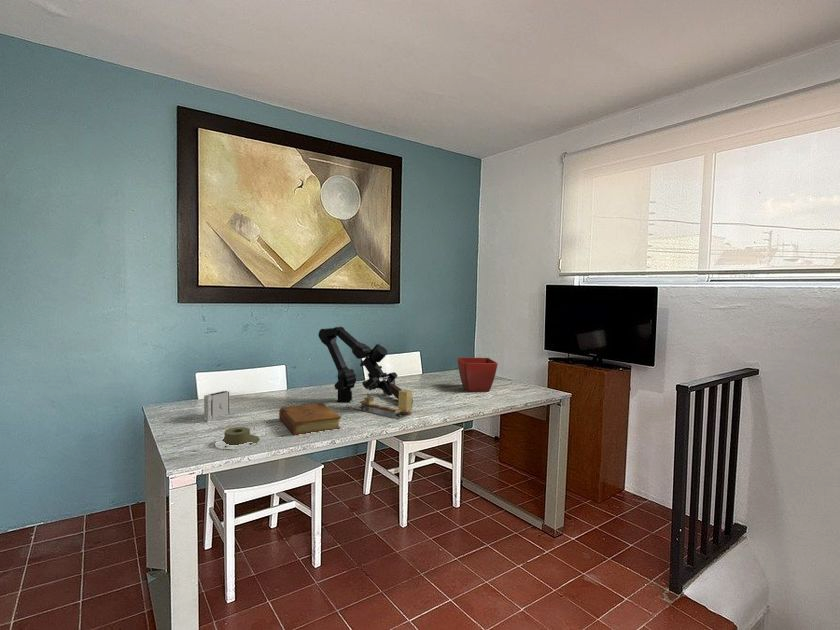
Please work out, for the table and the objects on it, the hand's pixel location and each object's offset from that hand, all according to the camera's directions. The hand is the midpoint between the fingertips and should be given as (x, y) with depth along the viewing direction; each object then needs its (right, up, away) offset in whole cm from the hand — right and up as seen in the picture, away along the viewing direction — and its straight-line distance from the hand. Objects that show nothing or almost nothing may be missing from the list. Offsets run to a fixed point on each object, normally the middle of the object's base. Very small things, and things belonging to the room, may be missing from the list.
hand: (391, 395), depth 205 cm
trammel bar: (-4, -7, 0) cm, 8 cm away
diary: (-32, -8, -22) cm, 40 cm away
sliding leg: (+5, -7, -6) cm, 11 cm away
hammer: (+2, -7, +21) cm, 22 cm away
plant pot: (+46, -6, +50) cm, 68 cm away
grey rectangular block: (-73, -7, -17) cm, 75 cm away
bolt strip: (-5, -7, -2) cm, 9 cm away
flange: (-52, -9, -46) cm, 70 cm away
